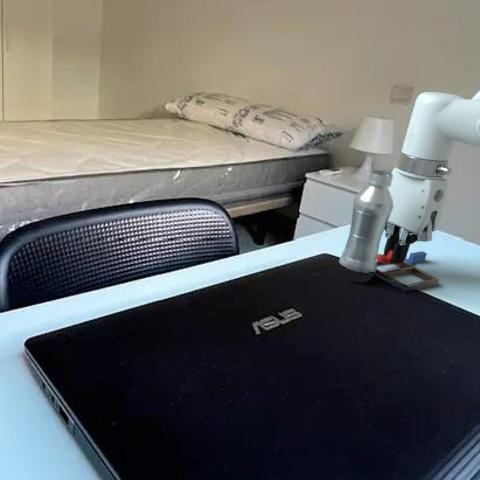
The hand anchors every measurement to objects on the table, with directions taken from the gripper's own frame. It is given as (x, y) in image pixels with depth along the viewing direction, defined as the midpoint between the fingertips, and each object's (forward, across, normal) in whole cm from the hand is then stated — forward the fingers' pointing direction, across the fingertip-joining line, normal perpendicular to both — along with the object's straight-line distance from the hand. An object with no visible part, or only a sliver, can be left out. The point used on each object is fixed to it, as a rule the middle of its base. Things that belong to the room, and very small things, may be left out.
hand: (393, 259), depth 95 cm
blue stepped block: (+2, +1, -7) cm, 7 cm away
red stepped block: (0, 0, +1) cm, 1 cm away
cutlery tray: (+2, -3, +2) cm, 4 cm away
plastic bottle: (+3, -1, +10) cm, 10 cm away
